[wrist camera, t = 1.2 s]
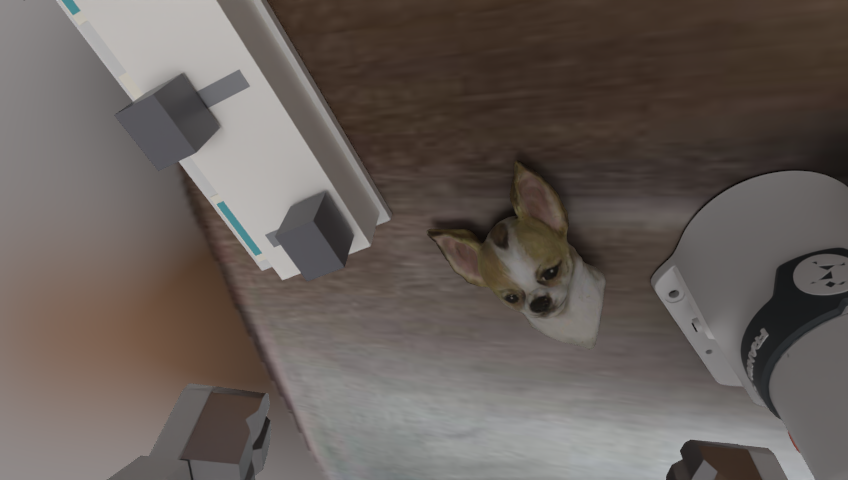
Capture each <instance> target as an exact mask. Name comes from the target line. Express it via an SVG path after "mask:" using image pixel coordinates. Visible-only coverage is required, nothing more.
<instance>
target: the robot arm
mask: <svg viewBox="0 0 848 480" xmlns="http://www.w3.org/2000/svg"><path fill="white" fill-rule="evenodd" d="M651 285H652V287H653V289H654V290H655V292H656V293H657V295H658V296H659V298H660V299H661V301H662V302H663V304H664V305H665V307H666V308H667V310H668V311H669V313H670V314H671V316H672V317H673V318H674V320H675V321H676V323H677V324H678V326H679V327H680V329H681V330H682V332H683V333H684V335H685V336H686V338H687V339H688V341H689V342H690V344H691V345H692V346H693V348H694V349H695V351H696V352H697V354H698V355H699V357H700V358H701V360H702V361H703V363H704V364H705V366H706V367H707V369H708V370H709V372H710V373H711V374H712V376H713V377H714V379H715V380H716V381H717V382H718V383H719V384H722V385H728V386H744V388H745V390H746V391H747V393H748V395H749V396H750V398H751V399H752V401H753V402H754V403H755V404H758V405H760V406H763V407H768V408H769V410H770V411H771V412H772V413H773V414H774V415H775V416H776V417H778V418H779V419H781V420H782V421H783V423H784V425H785V426H786V428H787V430H788V433H789V436H790V439H791V441H792V443H793V445H794V446H795V448H796V449H797V451H799V453H801V455H802V457H803V458H804V460H805V462H806V464H807V466H808V467H809V469H810V471H811V473H812V474H813V476H814V478H815V480H848V187H847V186H846V185H844V184H843V183H841V182H840V181H838V180H836V179H834V178H832V177H829V176H826V175H823V174H819V173H815V172H808V171H782V172H775V173H770V174H765V175H762V176H758V177H755V178H752V179H749V180H747V181H744V182H742V183H740V184H737V185H735V186H733V187H731V188H730V189H728V190H726V191H724V192H723V193H721V194H720V195H718V196H717V197H716V198H714V199H713V200H712V201H710V202H709V203H708V204H707V205H706V206H705V207H703V208H702V209H701V210H700V211H699V212H698V214H697V215H696V216H695V217H694V218H693V219H692V221H691V222H690V223H689V225H688V226H687V228H686V230H685V231H684V233H683V235H682V237H681V239H680V242H679V244H678V246H677V248H676V250H675V252H674V254H673V255H672V256H671V257H670V258H669V259H668V260H667V261H666V262H665V263H664V264H663V265H662V266H661V267H660V268H659V269H658V270H657V271H656V272H655V273H654V275H653V276H652V278H651ZM673 290H676V291H675V292H673V293H670V292H671V291H673ZM269 406H270V405H269V396H268V394H266V393H259V392H251V391H244V390H237V389H230V388H223V387H214V386H207V385H199V384H188V385H187V386H186V387H185V388H184V390H183V391H182V393H181V395H180V396H179V398H178V401H177V403H176V404H175V406H174V408H173V410H172V412H171V414H170V416H169V418H168V420H167V422H166V424H165V426H164V428H163V430H162V432H161V434H160V435H159V437H158V440H157V441H156V443H155V445H154V447H153V449H152V451H151V453H150V455H149V456H140V457H138V458H137V459H135V460H134V461H133V462H131V463H130V464H129V465H127V466H126V467H124V468H123V469H121V470H120V471H119V472H117V473H116V474H115V475H113V476H112V477H110V478H109V479H108V480H255V475H257V474H258V473H259V472H260V471H261V470H263V467H264V464H265V460H266V457H267V453H268V448H269V443H270V434H271V422H270V420H269V419H268V418H267V417H266V415H267V412H268V409H269ZM680 453H681V455H682V458H683V459H682V460H680V461H678V462H676V463H675V464H673V465H672V466H671V468H670V470H669V472H668V474H667V476H666V480H788V479H787V477H786V475H785V473H784V471H783V469H782V468H781V466H780V464H779V462H778V460H777V458H776V456H775V455H774V453H773V452H772V451H770V450H769V449H768V448H761V447H752V446H743V445H738V444H729V443H719V442H708V441H698V440H689V441H687V442H685V443H684V445H683V447H682V448H681V450H680Z"/></svg>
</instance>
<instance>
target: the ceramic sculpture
mask: <svg viewBox="0 0 848 480" xmlns="http://www.w3.org/2000/svg"><path fill="white" fill-rule="evenodd" d="M510 199H511V203H512V205H513V208H514V211H515V213H516V214H517V216H512V217H508V218H506V219H504V220H502V221H500V222H498V223H497V224H496V225H495V226H494V227H493V228H492V230H491V231H490V232H489V233H488V235H487V238H486V241H485V242H484V243H483V244H482V243H481V242H480V241H479V239H478V238H477V237H476V235H475V234H474V233H472V232H471V231H469V230H466V229H429V230H427V232H426V233H427V235H428V236H429V237H430V238H431V239H432V240H433V241H434V242H436V244H437V246H438V247H439V249H440V250H441V252H442V254H443V255H444V257H445V258H446V260H447V261H449V263H450V266H451V267H452V268H453V270H454V271H455V272H456V273H457V274H459V275H461V276H462V277H463V278H464V279H465V280H466V281H467V282H468V283H471V284H474V285H477V286H483V287H489V288H490V289H491V290H492V291H493V292H494V293H495V294H496V295H497V296H498V297H499V298H500V300H501V301H502V302H503V303H504V304H505V305H506V306H508V307H510V308H512V309H514V310H516V311H519V312H521V313H523V314H525V316H526V317H527V319H528V322H529V324H530V325H531V326H532V327H533V328H535V329H538V330H539V331H540V332H541V333H543V334H544V335H546V336H547V337H550V338H553V339H555V340H558V341H560V342H564V343H569V344H574V345H579V346H583V347H585V348H587V349H593V348H594V347H595V344H596V338H597V333H598V329H599V326H600V318H601V312H602V307H603V300H604V288H605V284H606V280H605V277H604V275H603V274H602V272H600V271H599V269H597V268H595V267H593V266H591V265H589V264H585V263H584V262H583V261H582V257H580V256H579V255H578V254H577V252H576V250H575V248H574V247H573V246H571V245H570V244H569V243H568V242H567V230H568V226H569V223H568V213H567V210H566V209H565V207H564V206H563V204H562V202H561V200H560V198H559V195H558V193H557V192H556V191H555V190H554V189H553V188H552V186H551V185H550V184H549V183H547V182H546V181H545V180H544V179H543V178H542V177H541V176H540V175H539V174H538V173H536V171H535V170H532V169H530V168H529V167H527V166H525V165H524V164H523V163H521V162H520V161H515V163H514V177H513V182H512V186H511V191H510Z"/></svg>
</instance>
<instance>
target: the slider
mask: <svg viewBox="0 0 848 480" xmlns="http://www.w3.org/2000/svg"><path fill="white" fill-rule="evenodd" d="M275 238H276V239H277V241H278V242H279V243H280V245H281V246H282V248H283V249H284V250H285V252H286V253H287V254H288V256H289V257H290V259H291V260H292V261H293V263H294V264H295V265H296V267H297V268H298V270H299V271H300V272H301V274H302V275H303V277H304V278H305V279H306V281H310V280H312V279H315V278H318V277H320V276H323V275H326V274H328V273H331V272H333V271H336V270H339V269H341V268H344V267H345V264H346V261H347V257H348V254H349V251H350V248H351V245H352V241H353V238H354V234H353V233H352V231H351V230H350V228H349V226H348V225H347V223H346V222H345V220H344V219H343V217H342V216H341V214H340V212H339V211H338V209H337V208H336V206H335V205H334V203H333V201H332V200H331V198H330V197H329V195H328V194H327V192H326V191H325V192H323V193H321V194H318V195H316V196H314V197H311V198H309V199H307V200H304V201H302V202H300V203H297V204H295V205H293V206H290V208H289V210H288V212H287V214H286V216H285V218H284V220H283V222H282V223H281V225H280V227H279V229H278V231H277V233H276V235H275Z"/></svg>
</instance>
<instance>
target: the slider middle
mask: <svg viewBox="0 0 848 480" xmlns="http://www.w3.org/2000/svg"><path fill="white" fill-rule="evenodd" d="M115 117H116V118H117V119H118V121H119V122H120V123H121V124H122V126H123V127H124V128H125V129H126V131H127V132H128V133H129V135H130V136H131V137H132V138H133V139H134V141H135V142H136V143H137V145H138V146H139V147H140V148H141V150H142V151H143V152H144V153H145V155H146V156H147V157H148V159H149V160H150V161H151V162H152V164H153V165H154V166H155V167H156V169H157V170H158V171H160V170H162V169H164V168H166V167H168V166H170V165H172V164H174V163H176V162H178V161H180V160H182V159H185V158H187V157H189V156H191V155H193V154H195V153H197V152H198V150H199V149H200V148H201V147H202V146H203V145H204V144H205V143H206V142H207V141H208V140H209V139H210V138H211V137H212V136H213V135H214V134H215V133H216V132H217V131H218V130H219V128H220V127H219V125H218V124H217V122H216V121H215V120H214V118H213V117H212V115H211V114H210V112H209V111H208V110H207V108H206V107H205V105H204V104H203V102H202V101H201V100H200V98H199V97H198V95H197V94H196V92H195V91H194V90H193V88H192V87H191V85H190V84H189V82H188V81H187V80H186V78H185V77H184V75H183V74H182V73H181V74H180V75H178V76H176V77H174V78H172V79H170V80H169V81H167V82H165V83H163V84H161V85H159V86H158V87H156V88H154V89H152V90H150V91H148V92H146V93H145V94H144V95H142V96H141V97H139V98H138V99H136V100H135V101H134V102H132V103H131V104H129V105H128V106H126V107H125V108H124V109H122V110H121V111H119V112H118V113H116V114H115Z"/></svg>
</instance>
